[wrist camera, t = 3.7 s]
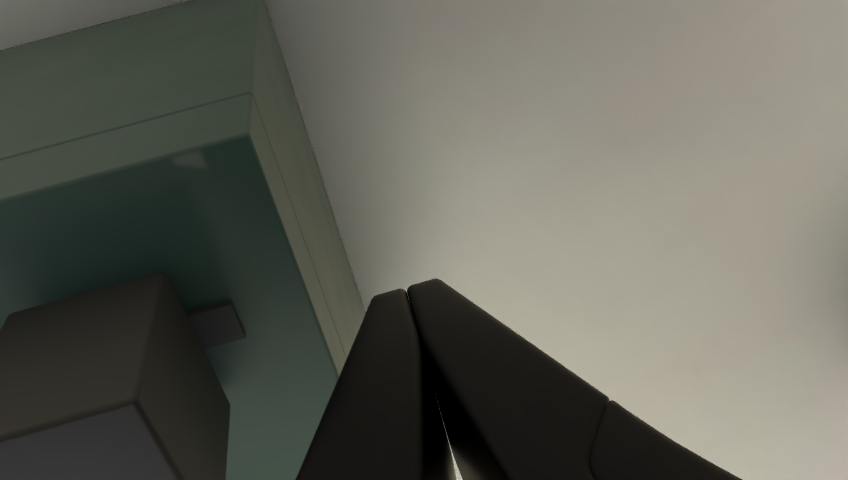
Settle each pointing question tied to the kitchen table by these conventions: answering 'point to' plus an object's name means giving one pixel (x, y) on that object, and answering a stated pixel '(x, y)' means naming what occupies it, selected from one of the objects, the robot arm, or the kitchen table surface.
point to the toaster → (184, 204)
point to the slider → (110, 390)
